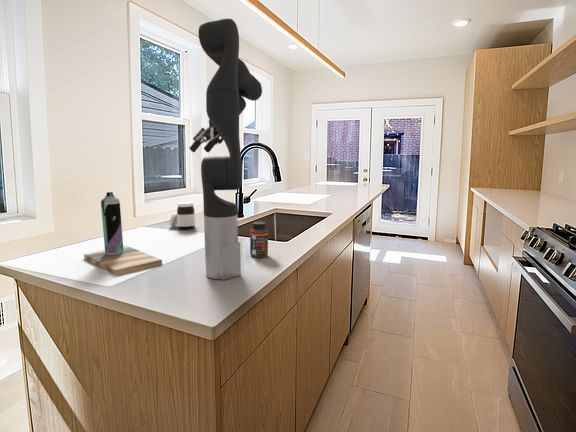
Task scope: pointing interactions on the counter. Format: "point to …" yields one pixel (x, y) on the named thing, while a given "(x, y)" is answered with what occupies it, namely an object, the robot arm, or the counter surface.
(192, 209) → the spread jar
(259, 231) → the supplement bottle
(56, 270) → the counter surface
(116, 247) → the spray can
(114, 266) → the plywood panel
